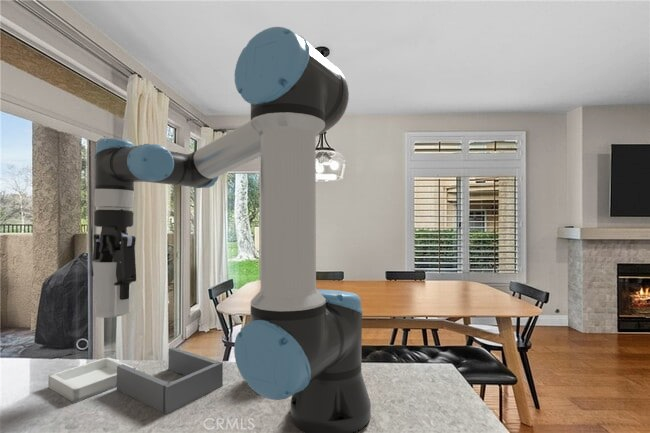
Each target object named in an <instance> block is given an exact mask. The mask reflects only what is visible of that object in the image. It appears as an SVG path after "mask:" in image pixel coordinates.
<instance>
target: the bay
mask: <svg viewBox="0 0 650 433" xmlns="http://www.w3.org/2000/svg"><path fill="white" fill-rule="evenodd" d="M167 363H168V364H167V365H168V370H170V371H172V372H175V373H177V374H180V375H183V376H182V377H180V378H178V379H176V380H174V381H171V382H167V381H165V380H163V379H160V378H158V377H155V376H153V375H150V374H147V373H145V372H143V371H141V370H139V369H133V368H131V367H128V366H126V365H123V364H122V365H119V366H117V387H116V390H117V391H119V392H121V393H123V394H126V396H129V397H131V398H134V399H135V400H137V401H140V402H141V403H143V404H146V405H148V406H149V407H151V408H154V409H156V410H158V411H160V412H162V413H163V414H166V415H168V414H170V413H172V412H174V411H176V410H177V409H179V408H181V407H183V406H185V405H188V404H189V403H191V402H193V401H195V400H197V399H199V398H201V397H203V396H205V395H208V394H209V393H212V392H213V391H215V390H217V389H219V388H220V387H223V382H224V380H223V375H224V372H223V370H224V368H223V367H224V365H223V364H224V362H221V361H218V360H215V359H212V358H209V357H206V356H203V355H199V354H196V353H193V352H190V351H187V350H184V349H180V348H177V347H174V346H172V347H169V348H168V362H167Z"/></svg>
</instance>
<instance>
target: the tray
mask: <svg viewBox="0 0 650 433" xmlns="http://www.w3.org/2000/svg"><path fill="white" fill-rule="evenodd" d="M122 364H123V365H126V366H128V367H131V368H133V369H136V367H134V366H131V365H129V364H126V363H124V362H122V361H120V360H117V359H114V358H112V357H109V356H106V357H103V358H100V359H96V360H93V361H90V362H86V363H85V364H81V365H78V366H75V367H71V368H68V369H64V370H62V371H57V372H55V373H52V374H48V386H47V387H48V388H49V389H50V390H52V391H54V392H55V393H57V394H59V395H60V396H62V397H64V398H66V399H67V400H68V401H71V402H72V403H74V404H75V403H78V402H80V401H84V400H85V399H88V398H91V397H94V396H96V395H97V396H98V395H99V394H101V393H104V392H106V391H109V390H112V389H115V388H117V366H119V365H122ZM136 370H137V369H136Z"/></svg>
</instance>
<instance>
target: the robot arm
mask: <svg viewBox="0 0 650 433" xmlns="http://www.w3.org/2000/svg"><path fill="white" fill-rule="evenodd" d="M234 85H235V88H236V90H237V93H238V94H240V96H241V98H242V99H243V100H244V101H245V102H247V103H248V104H249V105H250V121H248V122H246V123H244V124H242V125H240V126H239V127H237V128H235V129H233V130H231V131H229V132H228V133H226V134H224V135H222V136H220V137H219V138H217V139H215V140H212V141H211V142H210V143H208V144H206V145H204V146H203V147H200V148H198V149H196V150H195V151H193V152H191V153H183V152H182V153H181V152H178V151H172V150H168V149H167V148H166V147H164V146H163V145H160V144H155V143H154V144H149V143H143V144H139V145H135V144H134V143H133V142H131V141H129V140H125V139H123V138H122V139H120V138H100V139H99V140H98V141H96V149H95V150H96V151H95V154H94V160H95V161H94V162H95V164H94V166H95V167H94V170H95V171H94V172H95V173H94V174H95V175H94V178H95V179H94V181H95V183H94V202H93V204H94V207H95V208H97V209H95V211H94V212H93V215H94V216H93V217H94V218H93V224H94V226H95V227H97V228H101V231H100V233H94V234H93V251H92V252H93V254H92V261H94V260H100V262H112V261H113V260H114V262H117V264H116V277H117V282H116V283H114V285H115V307H114V315H116V316H117V315H121V314H125V315H127V314H129V313H130V299H129V285H130V283H131V284H132V283H134V282H136V281H137V268H136V267H137V265H136V249H135V246H136V239H137V238H136V236H135V235H133V236H132V235H130V236H129V233H128V229H127V228H131V227H133V226H134V211H133V210H131V209H132V208H134V200H135V196H134V194H135V193H134V192H135V188H134V187H135V183H137V182H138V183H141V182H143V183H154V184H164V185H173V186H174V185H175V186H182V187H189V188H190V187H191V188H196V189H202V188H203V189H204V188H205V189H208V188H212V187H213V186H215V184H216V182H217V181H218V180H219V176H222V175H224V174H226V173H228V172H231V171H233V170H234V169H237V168H239V167H241V166H244V165H245V164H247V163H249V162H252V161H254V160H256V159H258V158H260V289H259V291H258V293H257V294H256V295H255V296H253V298H252V299H251V300H250V321H249V322H248V323H245V324H244V325H243V327H242V328H240V331H239V332H238V333H237V335H236V337H235V340H234V345H233V346H234V348H233V355H234V359H235V363H236V366H237V370H238V372H239V373H240V375H241V377H242V379H243V380H245V381H246V383H247V385H248V386H249V387H250V389H252V391H254V392H255V393H256V394H258V395H259V396H260V397H263V398H266V399H268V400H274V401H281V400H285V399H288V398H290V397H291V399H290V408H289V409H290V413H289V414H290V419H291V421H292V423H293V424H294V425H295V426H296V427H297V428H298V429H300V430H302V431H304V432H306V433H353V432H355V433H357V432H359V431H360V429H361V430H362V429H364V428H365V427H366V426H367V425H368V424H369V422H370V420H371V417H372V412H371V410H372V405H371V400H370V397H369V393H368V389H367V387H366V383H365V380H364V377H363V373H362V347H363V346H362V344H363V343H362V338H363V337H362V334H363V333H362V332H363V329H362V328H363V310H362V299H361V298H360V296H359V295H358V294H356V293H354V292H350V291H342V290H335V289H323V288H322V289H318V288H317V255H316V254H317V238H316V237H317V221H316V220H317V218H316V217H317V214H316V211H317V210H316V209H317V208H316V207H317V206H316V203H317V202H316V201H317V200H316V199H317V197H316V193H317V192H316V188H317V187H316V179H317V177H316V176H317V174H316V173H317V172H316V171H317V170H316V168H317V167H316V155H317V153H316V145H317V144H316V138H317V137H318V136H320V135H322V134H324V133H326V132H327V131H329V130H330V129H331V128H333V127H334V126H335V125H336V124H338V123H339V121H340V120H341V119H342V117H343V116H344V115H345V112H346V110H347V107H348V103H349V100H350V98H349V95H350V94H349V93H350V92H349V85H348V82H347V79H346V77H345V76H344V73H342V71H341V70H340V69H339V68H338V66H336V65H335V64H333V63H332V62H331V61H329V60H328V59H327V58H326V57H324V56H323V55H322V54H321V53H320V52H319V51H318V50H317V49H315V48H314V47H313V45H311V44H310V43H309V42H308V40H307V39H305V38H304V37H303V36H302V35H299V34H296V33H295V32H294V31H292V30H291V29H290V28H286V27H283V26H273V27H267V28H265V29H263V30H262V31H259V32H258V33H257V34H255V35H253V37H251V38H250V40H248V42H247V44H246V46H245V47H244V48H243V49H242V51H241V52H240V54H239V56H238V58H237V61H236V65H235V69H234ZM120 262H121V263H120ZM91 276H92V277H94V275H93V263H92V264H91ZM126 313H127V314H126ZM368 421H369V422H368ZM367 423H368V424H367ZM366 424H367V425H366ZM365 425H366V426H365ZM364 426H365V427H364ZM363 427H364V428H363ZM358 430H359V431H358ZM356 431H357V432H356Z"/></svg>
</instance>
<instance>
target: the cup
mask: <svg viewBox="0 0 650 433" xmlns="http://www.w3.org/2000/svg"><path fill="white" fill-rule="evenodd" d="M92 263H93V275H94V276H93V286H94V299H95V300H94V304H95V317H97V318H102V319H106V318H108V319H109V318H117V317H122V316H124V315H125V316H126V315H127V314H128V313H126V314H121V315H117V316H116V315H114V307H115V285H114V283H116V282H117V277H116V264H117V262H114V260H113V261H112V262H100V260H94V261H93V260H92ZM120 263H121V262H120ZM131 288H132V282H131V283H130V285H129V300H130V299H131Z"/></svg>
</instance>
